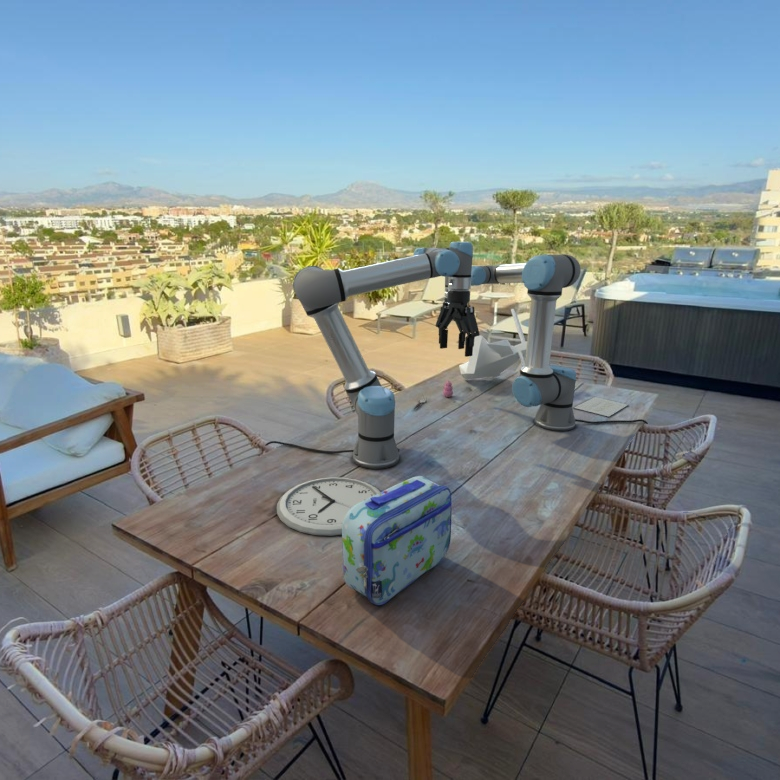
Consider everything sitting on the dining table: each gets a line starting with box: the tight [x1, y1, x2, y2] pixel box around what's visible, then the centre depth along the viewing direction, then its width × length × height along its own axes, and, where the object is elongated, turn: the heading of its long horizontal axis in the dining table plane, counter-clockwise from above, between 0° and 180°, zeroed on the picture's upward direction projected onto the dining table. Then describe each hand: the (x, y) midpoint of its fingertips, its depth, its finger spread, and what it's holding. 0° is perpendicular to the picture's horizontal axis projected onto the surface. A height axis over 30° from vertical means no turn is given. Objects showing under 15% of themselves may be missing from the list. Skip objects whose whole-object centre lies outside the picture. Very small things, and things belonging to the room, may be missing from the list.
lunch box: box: [341, 475, 453, 606], centre depth 111 cm, size 26×11×21 cm, turn 134°
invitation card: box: [573, 396, 629, 418], centre depth 226 cm, size 21×1×15 cm
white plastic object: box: [458, 308, 527, 380], centre depth 254 cm, size 37×45×31 cm
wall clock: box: [276, 476, 382, 537], centre depth 142 cm, size 30×2×30 cm
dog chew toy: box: [442, 380, 454, 398], centre depth 235 cm, size 4×4×7 cm
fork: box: [413, 394, 428, 410], centre depth 224 cm, size 3×16×2 cm, turn 160°
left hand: (455, 352), depth 181 cm, fingers open, 13 cm apart
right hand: (451, 346), depth 229 cm, fingers open, 13 cm apart
